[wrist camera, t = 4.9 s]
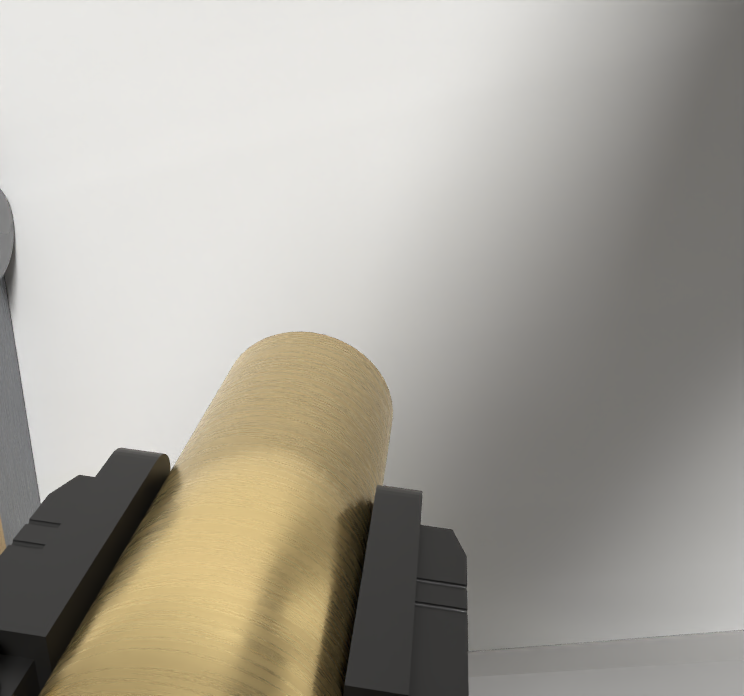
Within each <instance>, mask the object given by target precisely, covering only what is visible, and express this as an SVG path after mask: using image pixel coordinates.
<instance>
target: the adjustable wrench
mask: <svg viewBox="0 0 744 696" xmlns="http://www.w3.org/2000/svg"><path fill="white" fill-rule="evenodd" d="M468 683H469V696H744V630H736V631H723V632H711V633H698V634H685V635H673V636H660V637H647V638H635V639H622V640H610V641H597V642H584V643H572V644H559V645H546V646H534V647H521V648H508V649H496V650H483V651H470V652H468Z"/></svg>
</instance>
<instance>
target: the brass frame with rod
mask: <svg viewBox="0 0 744 696" xmlns="http://www.w3.org/2000/svg"><path fill="white" fill-rule="evenodd" d="M13 243H14V224H13V217H12V213H11V209H10V206H9V203H8V201H7V199H6V197H5V195H4V193H3V192H2V190H1V189H0V555H1V554H2V552H3V551H4V550H5V549H6V547H7V546H8V545H12V543H13V539H14V537H15V536H16V535H17V534H18V532H19V531H20V530H21V529H22V527H23V526H24V525H25V524H28V523H29V519H30V517H31V516H32V515H33V514H34V512H35V511H36V510H37V509H38V507H39V506H40V500H39V494H38V487H37V481H36V475H35V468H34V462H33V456H32V449H31V443H30V437H29V430H28V424H27V418H26V412H25V405H24V399H23V393H22V386H21V380H20V374H19V367H18V361H17V355H16V348H15V342H14V336H13V329H12V323H11V317H10V310H9V304H8V298H7V292H6V285H5V279H4V273H5V271H6V269H7V267H8V265H9V262H10V259H11V255H12V250H13Z"/></svg>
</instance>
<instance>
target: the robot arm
mask: <svg viewBox="0 0 744 696" xmlns="http://www.w3.org/2000/svg"><path fill="white" fill-rule="evenodd" d="M170 472H171V471H170V461H169V458H168V456H167V455H166V454H161V453H154V452H147V451H140V450H133V449H126V448H118V449H117V450H115V451H114V452H113V454H112V455H111V456H110V458H109V459H108V460H107V462H106V463H105V464H104V466H103V467H102V469H101V470H100V471H99V473H98V474H97V475H96V477H90V476H83V475H78V476H76V477H75V478H73V479H72V480H70V481H69V482H67V483H66V484H64V485H63V486H61V487H59V488H58V489H56V490H55V491H53V492H52V493H50V494H49V495H48V496H47V497H46V499H45V500H44V501H43V502H42V504H41V505H40V506H39V507H38V509H37V510H36V511H35V512H34V514H33V515H32V516H31V517H30V519H29V523H28V524H25V525H24V526H23V527H22V529H21V530H20V531H19V532H18V534H17V535H16V536H15V537H14V539H13V543H12V545H8V546H7V547H6V549H5V550H4V551H3V552H2V554H1V555H0V696H39V694H40V692H41V691H42V689H43V687H44V685H45V684H46V682H47V680H48V679H49V677H50V675H51V674H52V672H53V670H54V669H55V667H56V665H57V663H58V662H59V660H60V658H61V657H62V655H63V653H64V652H65V650H66V648H67V646H68V645H69V643H70V641H71V640H72V638H73V636H74V635H75V633H76V631H77V629H78V628H79V626H80V624H81V623H82V621H83V619H84V618H85V616H86V614H87V612H88V611H89V609H90V607H91V606H92V604H93V602H94V601H95V599H96V597H97V596H98V594H99V592H100V590H101V589H102V587H103V585H104V584H105V582H106V580H107V579H108V577H109V575H110V573H111V572H112V570H113V568H114V567H115V565H116V563H117V562H118V560H119V558H120V556H121V555H122V553H123V551H124V550H125V548H126V546H127V545H128V543H129V541H130V540H131V538H132V536H133V534H134V533H135V531H136V529H137V528H138V526H139V524H140V523H141V521H142V519H143V517H144V516H145V514H146V512H147V511H148V509H149V507H150V506H151V504H152V502H153V500H154V499H155V497H156V495H157V494H158V492H159V490H160V489H161V487H162V485H163V483H164V482H165V480H166V478H167V477H168V475H169V473H170ZM421 507H422V491H417V490H410V489H403V488H396V487H389V486H382V485H377V487H376V492H375V499H374V505H373V511H372V517H371V523H370V530H369V536H368V542H367V548H366V555H365V561H364V567H363V573H362V579H361V586H360V592H359V598H358V604H357V610H356V617H355V623H354V629H353V635H352V641H351V648H350V654H349V660H348V666H347V672H346V679H345V685H344V694H343V696H469V683H468V621H467V590H466V588H467V560H466V554H465V553H464V551H463V549H462V547H461V545H460V543H459V541H458V539H457V537H456V536H455V534H454V532H453V530H451V529H444V528H437V527H430V526H423V525H420V522H421Z"/></svg>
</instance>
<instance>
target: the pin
mask: <svg viewBox="0 0 744 696" xmlns="http://www.w3.org/2000/svg"><path fill="white" fill-rule="evenodd" d="M392 417H393V408H392V400H391V396H390V392H389V389H388V387H387V385H386V382H385V380H384V379H383V377H382V375H381V374H380V372H379V371H378V370H377V368H376V367H375V366H374V365H373V363H372V362H371V361H369V360H368V359H367V358H366V357H365V356H364V355H363V354H362V353H360V352H359V351H358V350H356V349H355V348H353V347H352V346H350V345H348V344H347V343H344V342H342V341H340V340H338V339H336V338H333V337H329V336H326V335H323V334H317V333H312V332H288V333H282V334H277V335H274V336H270V337H267V338H265V339H263V340H261V341H259V342H257V343H255V344H254V345H252V346H251V347H249V348H248V349H247V350H246V351H245V352H244V353H242V354H241V356H240V357H239V358H238V359H237V360H236V362H235V363H234V365H233V366H232V368H231V370H230V371H229V373H228V375H227V377H226V378H225V380H224V382H223V383H222V385H221V387H220V388H219V390H218V392H217V394H216V395H215V397H214V399H213V400H212V402H211V404H210V405H209V407H208V409H207V410H206V412H205V414H204V416H203V417H202V419H201V421H200V422H199V424H198V426H197V427H196V429H195V431H194V433H193V434H192V436H191V438H190V439H189V441H188V443H187V444H186V446H185V448H184V450H183V451H182V453H181V455H180V456H179V458H178V460H177V461H176V463H175V465H174V467H173V468H172V470H171V472H170V473H169V475H168V477H167V478H166V480H165V482H164V483H163V485H162V487H161V489H160V490H159V492H158V494H157V495H156V497H155V499H154V500H153V502H152V504H151V506H150V507H149V509H148V511H147V512H146V514H145V516H144V517H143V519H142V521H141V523H140V524H139V526H138V528H137V529H136V531H135V533H134V534H133V536H132V538H131V540H130V541H129V543H128V545H127V546H126V548H125V550H124V551H123V553H122V555H121V556H120V558H119V560H118V562H117V563H116V565H115V567H114V568H113V570H112V572H111V573H110V575H109V577H108V579H107V580H106V582H105V584H104V585H103V587H102V589H101V590H100V592H99V594H98V596H97V597H96V599H95V601H94V602H93V604H92V606H91V607H90V609H89V611H88V612H87V614H86V616H85V618H84V619H83V621H82V623H81V624H80V626H79V628H78V629H77V631H76V633H75V635H74V636H73V638H72V640H71V641H70V643H69V645H68V646H67V648H66V650H65V652H64V653H63V655H62V657H61V658H60V660H59V662H58V663H57V665H56V667H55V669H54V670H53V672H52V674H51V675H50V677H49V679H48V680H47V682H46V684H45V685H44V687H43V689H42V691H41V692H40V694H39V696H343V694H344V685H345V679H346V672H347V666H348V660H349V654H350V648H351V641H352V635H353V629H354V623H355V617H356V610H357V604H358V598H359V592H360V586H361V579H362V573H363V567H364V561H365V555H366V548H367V542H368V536H369V530H370V523H371V517H372V511H373V505H374V499H375V492H376V487H377V485H382V486H383V480H384V473H385V466H386V460H387V453H388V446H389V439H390V433H391V426H392Z"/></svg>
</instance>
